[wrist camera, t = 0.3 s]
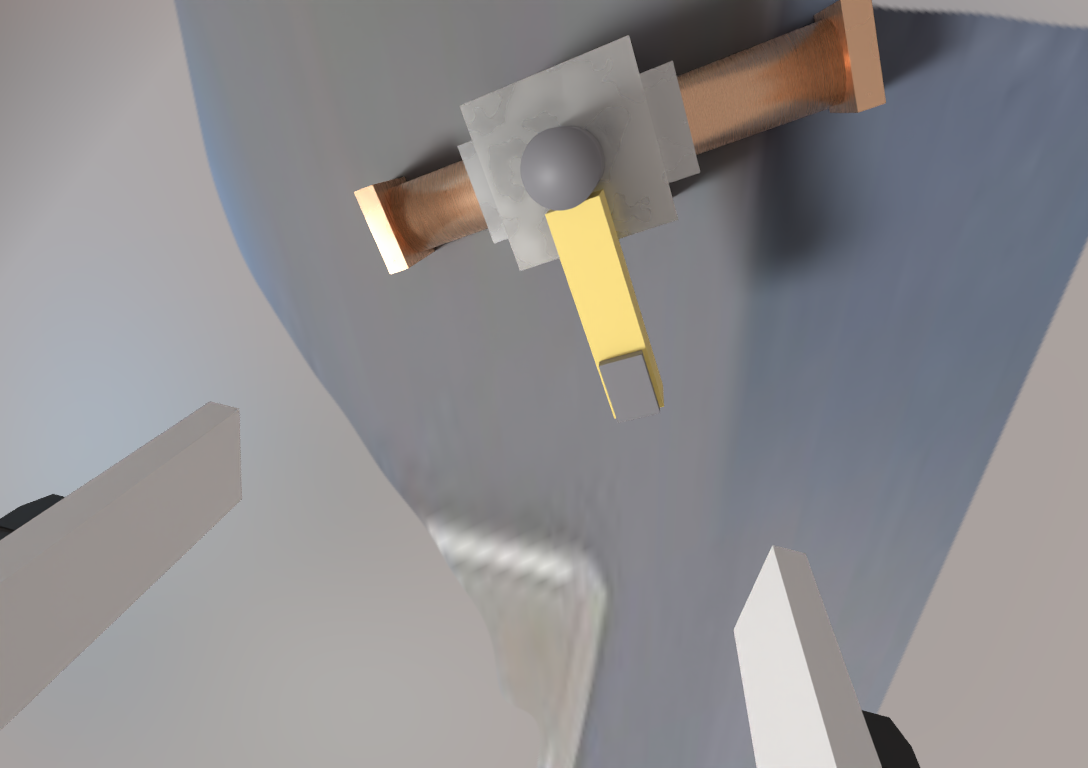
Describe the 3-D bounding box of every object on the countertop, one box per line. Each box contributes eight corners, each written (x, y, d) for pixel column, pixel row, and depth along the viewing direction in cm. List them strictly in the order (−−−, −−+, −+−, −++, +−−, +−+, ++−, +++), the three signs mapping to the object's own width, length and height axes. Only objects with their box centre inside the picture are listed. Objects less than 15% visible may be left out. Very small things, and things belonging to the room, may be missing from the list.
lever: (524, 140, 28) (507, 144, 24) (591, 114, 27) (583, 114, 23) (610, 392, 32) (605, 426, 29) (670, 377, 31) (672, 410, 28)
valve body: (376, 157, 37) (311, 167, 30) (832, -30, 30) (891, -76, 23) (428, 280, 40) (379, 316, 33) (858, 135, 33) (918, 141, 26)
